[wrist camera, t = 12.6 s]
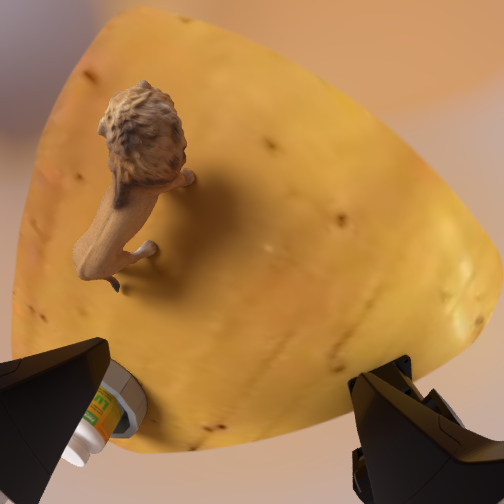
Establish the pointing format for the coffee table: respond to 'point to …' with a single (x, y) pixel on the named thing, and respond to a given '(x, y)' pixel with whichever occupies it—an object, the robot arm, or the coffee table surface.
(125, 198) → the lion figurine
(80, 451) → the supplement bottle
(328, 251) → the coffee table surface
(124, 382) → the grey faceted bowl
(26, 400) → the robot arm
